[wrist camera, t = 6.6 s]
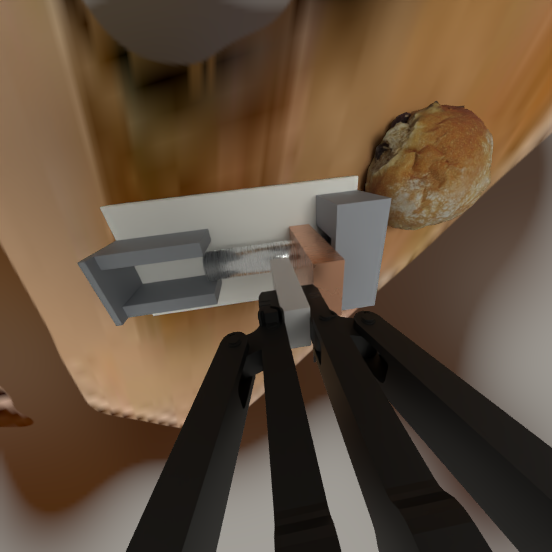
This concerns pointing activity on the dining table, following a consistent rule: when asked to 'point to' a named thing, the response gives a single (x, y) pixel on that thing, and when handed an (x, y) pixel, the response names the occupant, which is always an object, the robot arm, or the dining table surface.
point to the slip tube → (302, 254)
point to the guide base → (231, 244)
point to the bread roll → (431, 165)
